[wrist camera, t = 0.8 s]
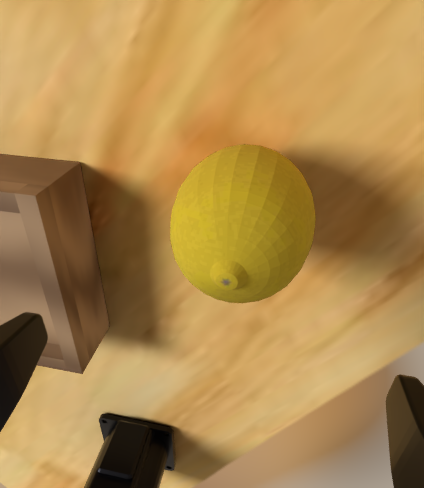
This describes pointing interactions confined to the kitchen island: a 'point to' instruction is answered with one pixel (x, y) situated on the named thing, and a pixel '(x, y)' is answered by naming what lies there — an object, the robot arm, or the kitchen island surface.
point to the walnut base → (51, 258)
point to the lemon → (242, 224)
